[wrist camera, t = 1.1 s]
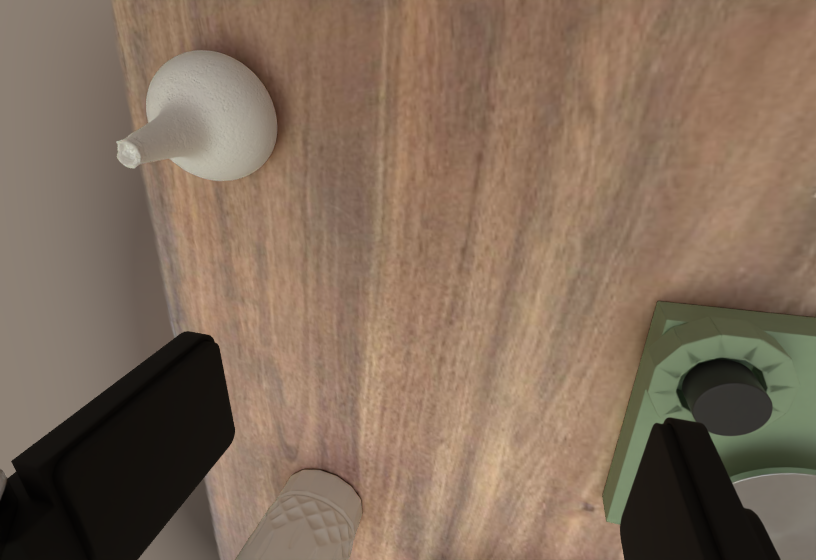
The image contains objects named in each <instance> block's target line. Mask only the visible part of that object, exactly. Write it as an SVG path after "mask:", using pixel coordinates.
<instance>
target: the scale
mask: <svg viewBox="0 0 816 560" xmlns="http://www.w3.org/2000/svg"><path fill="white" fill-rule="evenodd" d="M722 359H723V360H732V361H736V362H738V363H741V364H743V365H745V366H746V367H748V368H749V369H750V370H751V371H752V372H753V374H754V375H755V377H756V378H757V380H758V381H759V382H760V384H761V385H762V387H763V388H764V390H765V391H766V393H767V394H768V396H769V397H770V399H771V401H772V405H773V410H772V414H771V417H770V419H769V420H768V421H767V423H766V424H764V425H763V426H762V427H761V428H759V429H758V430H756V431H754V432H751V433H748V434H745V435H740V436H721V435H716V434H713V433H711V432H709V434H710V436H711V438H712V441H713V443H714V445H715V447H716V449H717V451H718V453H719V456H720V458H721V460H722V462H723V464H724V466H725V469H726V471H727V473H728V475H729V477H732V476H734V475H737V474H741V473H744V472H748V471H753V470H758V469H765V468H777V467H793V468H806V469H813V470H816V318H813V317H804V316H794V315H785V314H775V313H766V312H757V311H747V310H738V309H728V308H719V307H709V306H700V305H690V304H681V303H671V302H662V301H658V302H657V304H656V308H655V312H654V315H653V319H652V322H651V326H650V329H649V333H648V336H647V340H646V343H645V347H644V351H643V354H642V358H641V361H640V365H639V368H638V372H637V375H636V379H635V382H634V386H633V390H632V393H631V397H630V400H629V404H628V407H627V411H626V414H625V418H624V421H623V425H622V429H621V432H620V436H619V439H618V443H617V446H616V450H615V453H614V457H613V460H612V464H611V468H610V471H609V475H608V478H607V482H606V485H605V489H604V492H603V496H602V497H603V504H604V510H605V517H606V521H607V522H611V523H615V524H620V523H621V517H622V514H623V511H624V508H625V505H626V502H627V499H628V497H629V494H630V491H631V488H632V485H633V482H634V479H635V476H636V473H637V470H638V467H639V464H640V461H641V458H642V455H643V453H644V450H645V447H646V444H647V441H648V438H649V435H650V432H651V429H652V427H653V425H654V424H655V423H660V424H663V423H664V420H665V419H666V418H668V417H671V418H677V419H682V420H688V421H694V422H696V421H695V419H694V417H693V415H692V413H691V410H690V408H689V406H688V403H687V401H686V399H685V396H684V394H683V391H682V384H683V380H684V378H685V376H686V375H687V373H688V372H689V371H690V370H691V369H693V368H694V367H696V366H697V365H699V364H701V363H704V362H707V361H711V360H722Z"/></svg>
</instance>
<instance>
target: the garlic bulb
mask: <svg viewBox="0 0 816 560" xmlns="http://www.w3.org/2000/svg"><path fill="white" fill-rule="evenodd" d="M146 113H147V118H148V124H146V125H145V126H143V127H141V128H140V129H138V130H137V131H135V132H133V133H131V134H130V135H129V136H127V138H126V139H122V140H119V141H116V143H118V148H117V149H118V151H119V152H118V153H117V159H118V160H119V161H120V162H121V163H122V164H123V165H124V166H126V167H128V168H136V166H138V165H139V164H143V163H148V162H153V161H159V160H163V159H171V160H172V161H173V162H174V163H175V164H177V165H178V166H179V167H181V168H182V169H184V170H185V171H187V172H189V173H191V174H193V175H196V176H198V177H201V178H205V179H209V180H214V181H231V180H236V179H240V178H243V177H246V176H248V175H250V174H252V173H253V172H255V171H256V170H258V169H259V168H260V167H261V166H262V165H263V164H264V163H265V162H266V161H267V160H268V158H269V156H270V155H271V153H272V151H273V149H274V146H275V143H276V138H277V118H276V113H275V108H274V106H273V102H272V100H271V97H270V95H269V93H268V91H267V90H266V88H265V86H264V85H263V83H262V82H261V81H260V80H259V78H258V77H257V76H256V75H255V74H254V73H253V72H252V71H251V70H250V69H249V68H248V67H246V66H245V65H244V64H242V63H241V62H240V61H238V60H236V59H234V58H232V57H230V56H228V55H225V54H223V53H219V52H215V51H208V50H196V51H189V52H185V53H182V54H180V55H177V56H175V57H173V58H172V59H170V60H169V61H167V62H166V63H165V64H164V65H162V67H161V68H160V69H159V70H158V71H157V73H156V74H155V75H154V77H153V79H152V81H151V83H150V86H149V88H148V92H147V98H146Z"/></svg>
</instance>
